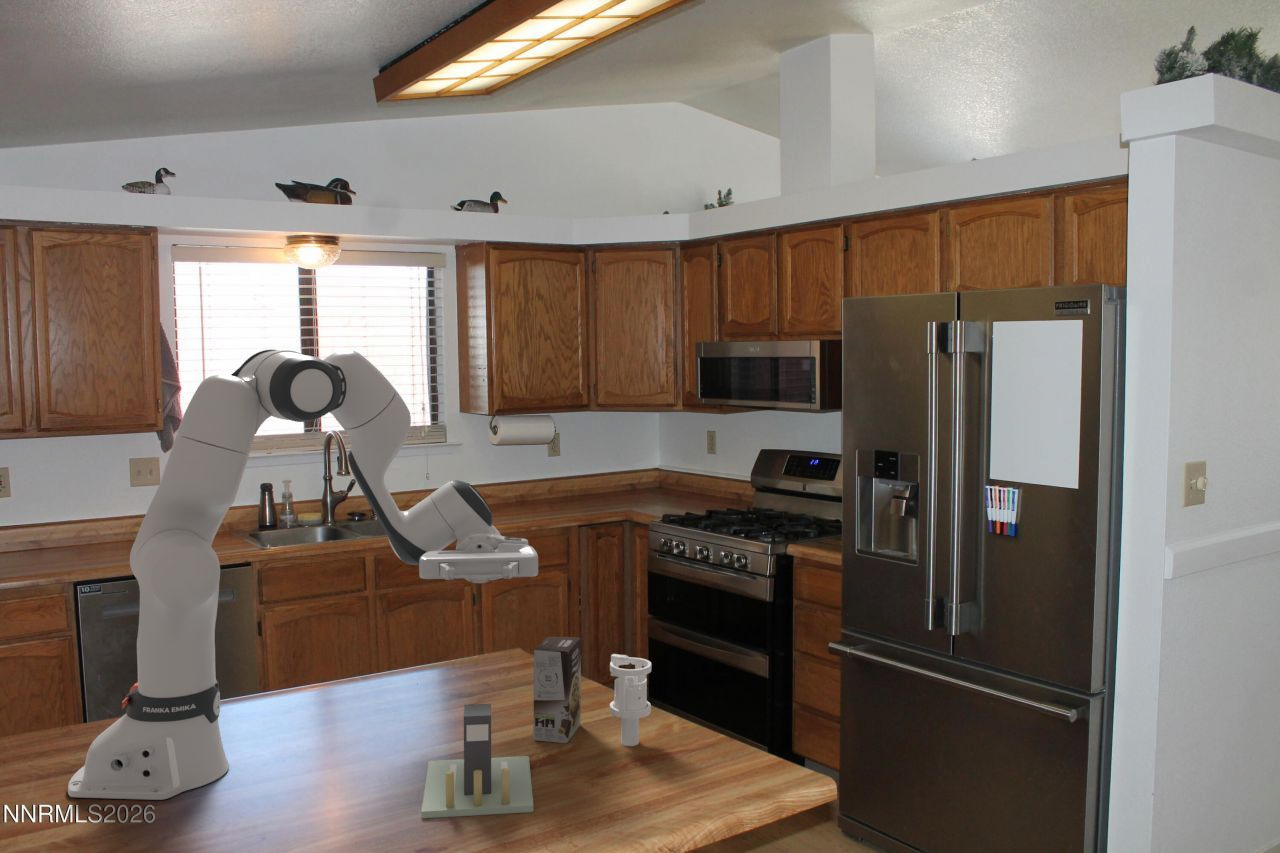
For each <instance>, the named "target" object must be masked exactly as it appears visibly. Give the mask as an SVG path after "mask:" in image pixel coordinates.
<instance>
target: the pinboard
mask: <svg viewBox="0 0 1280 853" xmlns="http://www.w3.org/2000/svg"><path fill="white" fill-rule="evenodd" d="M427 763H428V764H427V770H426V771H427V772H426V778H425V783H424V791H423V798H422V803H421V804H422V805H421V813H420V815H421V819H433V818H434V819H435V818H437V819H438V818H449V817H451V818H452V817H453V818H454V817H468V816H470V817H471V816H486V815H503V814H506V815H507V814H517V813H519V814H521V813H524V814H525V813H534V797H533V786H532V785H533V784H532V776H531V767H530V764H531V763H530V757H529V755H526V756H525V755H521V756H504V757H503V756H501V757H499V756H498V757H491V794H482V770H475V771H474V795H464V758H462V759H442V760H441V759H440V760H438V759H437V760H428V762H427Z"/></svg>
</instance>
